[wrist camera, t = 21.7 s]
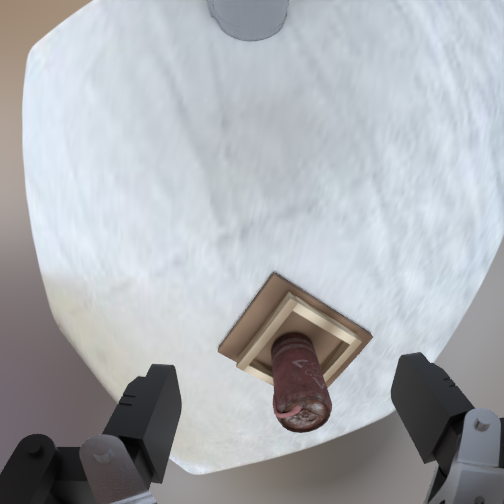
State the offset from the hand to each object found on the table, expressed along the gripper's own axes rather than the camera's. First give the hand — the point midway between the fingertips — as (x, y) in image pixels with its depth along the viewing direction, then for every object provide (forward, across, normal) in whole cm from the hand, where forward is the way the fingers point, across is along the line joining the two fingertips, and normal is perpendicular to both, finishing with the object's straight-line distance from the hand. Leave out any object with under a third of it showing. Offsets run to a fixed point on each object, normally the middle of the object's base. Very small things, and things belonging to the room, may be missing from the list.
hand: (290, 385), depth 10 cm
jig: (+30, -5, +17) cm, 35 cm away
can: (+29, -4, +17) cm, 34 cm away
